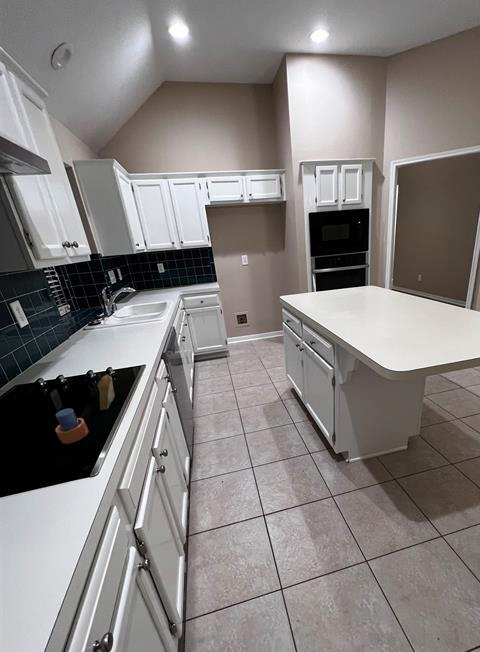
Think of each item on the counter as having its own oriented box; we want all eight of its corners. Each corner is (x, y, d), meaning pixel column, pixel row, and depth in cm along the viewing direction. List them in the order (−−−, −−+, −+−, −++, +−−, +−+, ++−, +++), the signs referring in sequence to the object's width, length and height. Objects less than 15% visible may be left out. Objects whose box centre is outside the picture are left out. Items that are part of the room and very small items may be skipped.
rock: (109, 406, 106) (127, 388, 114) (87, 389, 103) (107, 372, 111) (97, 419, 111) (114, 401, 119) (75, 404, 109) (95, 386, 117)
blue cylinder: (63, 436, 95) (52, 414, 92) (79, 428, 98) (69, 406, 95) (69, 440, 93) (58, 418, 89) (85, 432, 96) (75, 410, 93)
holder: (56, 438, 95) (51, 428, 94) (82, 425, 101) (77, 415, 99) (66, 446, 91) (61, 435, 90) (92, 433, 97) (88, 422, 95)
